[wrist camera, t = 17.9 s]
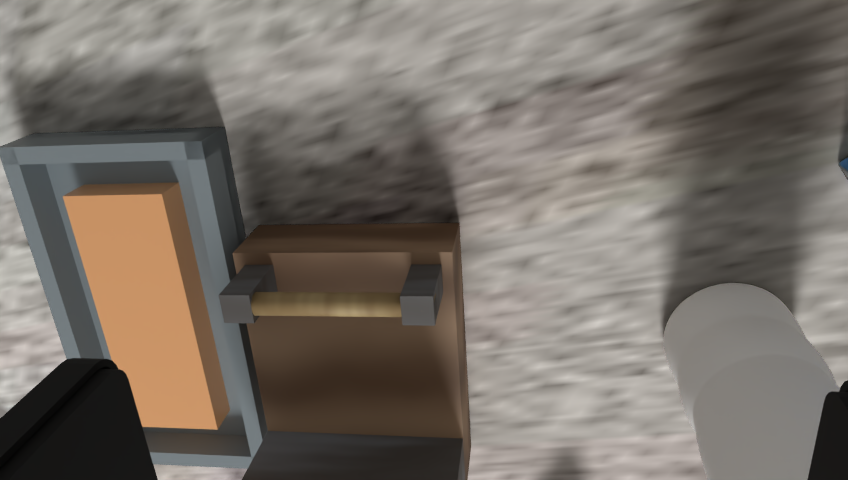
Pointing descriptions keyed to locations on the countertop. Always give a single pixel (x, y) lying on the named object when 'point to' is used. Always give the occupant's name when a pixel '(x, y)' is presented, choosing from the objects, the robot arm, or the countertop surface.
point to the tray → (212, 240)
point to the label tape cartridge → (844, 167)
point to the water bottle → (747, 382)
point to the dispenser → (356, 350)
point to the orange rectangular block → (150, 300)
